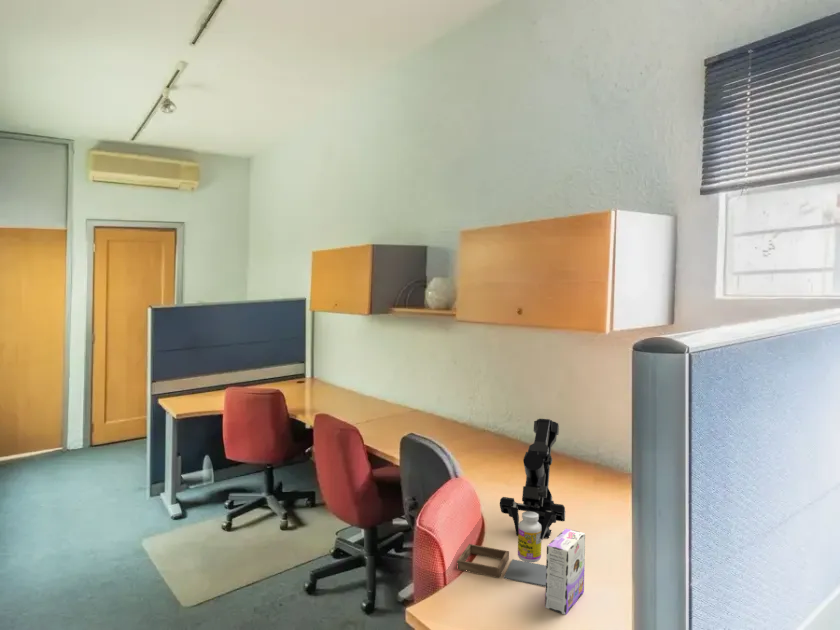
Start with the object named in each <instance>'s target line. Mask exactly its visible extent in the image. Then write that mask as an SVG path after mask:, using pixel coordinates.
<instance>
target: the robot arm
mask: <svg viewBox="0 0 840 630" xmlns="http://www.w3.org/2000/svg"><path fill="white" fill-rule="evenodd" d="M533 432H534V434H535V437H534V442H533V443H532V444H530V445H529V446H528V450H527V451H525V454H524V456H523V459H522V460H523V466H524V472H525V473H524V474H525V475H526V477H525V485H523V486H522V496H521V501H522V502H523V503H519V502H516V501H515V498H514V497H508V496H507V497H506V496H502V497H501V498H500V500H499V508H500V511H501V513H502V514H506V515H508V517H510V518H512V521H513V523H514V529H515V535H516V536H515V537H518V525H519V523H520V515H519V514H520V513H519V511H523V512H526V511H532V512H536V513H537V514H538V515H539V519H538V522H539V523H540V524H541V526H542V532H541V541H543V539H544V538H545V537H548V538H547V539H550V537H549V536H551V534H552V532H551V531H552V529H551V528H550V527H551V526H552V525H553V524H556V523H557V522H566V507H565V506H564V504H562V503H561V504H559V503H555V501H554V500H553V496H552V492H551V491H550V489H549V485H550V484H549V482H550V467H551V465H552V464H553V458H552V455H551V454H552V447H553V446H554V444H555V443H556V442H557V437H558V436H559V434H560V424H559V422H556V421H554V420H551V419H550V418H537V419H536V420H534V421H533Z"/></svg>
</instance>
